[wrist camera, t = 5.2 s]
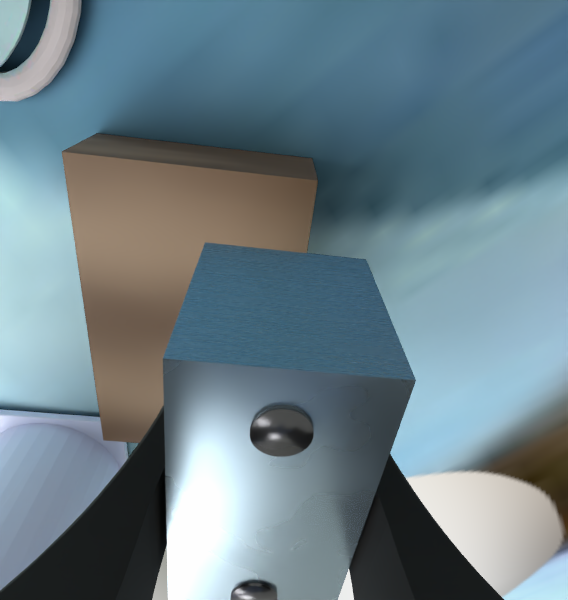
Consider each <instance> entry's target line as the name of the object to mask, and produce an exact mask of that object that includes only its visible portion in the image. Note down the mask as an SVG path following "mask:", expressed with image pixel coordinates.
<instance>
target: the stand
mask: <svg viewBox="0 0 568 600" xmlns="http://www.w3.org/2000/svg"><path fill="white" fill-rule="evenodd" d="M62 157H63V164H64V171H65V178H66V184H67V191H68V198H69V205H70V212H71V219H72V226H73V233H74V240H75V247H76V254H77V261H78V268H79V275H80V282H81V289H82V296H83V302H84V309H85V316H86V323H87V330H88V337H89V344H90V351H91V358H92V365H93V372H94V379H95V386H96V393H97V400H98V407H99V413H100V420H101V427H102V434H103V440H104V441H118V442H132V443H140V441H141V440H142V438H143V437H144V435H145V434H146V433H147V431H148V430H149V428H150V427H151V425H152V423H153V422H154V420H155V419H156V417H157V415H158V414H159V412H160V410H161V408H162V406H164V391H163V356H164V354H165V351H166V348H167V345H168V343H169V340H170V337H171V334H172V332H173V329H174V326H175V323H176V321H177V318H178V315H179V312H180V310H181V307H182V304H183V301H184V299H185V296H186V293H187V290H188V288H189V285H190V282H191V279H192V277H193V274H194V271H195V268H196V266H197V263H198V260H199V257H200V255H201V252H202V249H203V247H204V244H205V242H207V243H216V244H226V245H235V246H244V247H254V248H263V249H272V250H282V251H291V252H300V253H307V248H308V242H309V236H310V229H311V223H312V216H313V210H314V203H315V197H316V190H317V184H318V179H317V175H316V171H315V167H314V163H313V160H312V158H305V157H297V156H288V155H279V154H271V153H262V152H254V151H245V150H236V149H228V148H219V147H211V146H202V145H193V144H185V143H176V142H167V141H159V140H150V139H142V138H133V137H124V136H116V135H107V134H99V133H96V134H95V135H93V136H91V137H89V138H87V139H85V140H83V141H81V142H79V143H77V144H76V145H74V146H72V147H70V148H68V149H66V150H64V151H62Z"/></svg>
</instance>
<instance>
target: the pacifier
mask: <svg viewBox="0 0 568 600" xmlns="http://www.w3.org/2000/svg"><path fill="white" fill-rule="evenodd" d="M31 1H32V0H0V67H1V66H2V65H3V64H4V63H5V62H6V61H7V59H8V58H9V56H10V55H11V54H12V52H13V51H14V49H15V47H16V46H17V44H18V42H19V41H20V38H21V36H22V34H23V31H24V29H25V26H26V22H27V19H28V15H29V11H30V6H31ZM80 15H81V0H50V7H49V12H48V17H47V22H46V26H45V29H44V31H43V34H42V36H41V39H40V41H39V43H38V45H37V46H36V48H35V49H34V51H33V52H32V54H31V55H30V57H29V58H28V59H27V60H26V61H24V62H23V63H22V64H21V65H20V66H19V67H18V68H16V69H13V70H11V71H9V72H0V101H20V100H22V99H25V98H28V97H31V96H33V95H35V94H37V93H38V92H39V91H41V90H42V89H43V88H44V87H46V86H47V85H48V84H49V83H51V81H52V80H53V79H54V77H55V76H56V75H57V73H58V72H59V71H60V69H61V68H62V67H63V65H64V64H65V61H66V59H67V57H68V54H69V52H70V50H71V48H72V45H73V43H74V41H75V37H76V32H77V28H78V23H79V19H80Z"/></svg>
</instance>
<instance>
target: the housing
mask: <svg viewBox="0 0 568 600" xmlns="http://www.w3.org/2000/svg"><path fill="white" fill-rule="evenodd" d="M415 381H416V380H415V377H414V375H413V372H412V370H411V368H410V365H409V363H408V360H407V358H406V355H405V353H404V351H403V348H402V346H401V343H400V341H399V338H398V336H397V334H396V331H395V329H394V326H393V324H392V322H391V319H390V317H389V314H388V312H387V309H386V307H385V305H384V302H383V300H382V297H381V295H380V292H379V290H378V288H377V285H376V283H375V280H374V278H373V275H372V273H371V271H370V268H369V266H368V263H367V261H366V259H356V258H347V257H338V256H328V255H319V254H310V253H300V252H291V251H282V250H272V249H263V248H254V247H244V246H235V245H226V244H216V243H207V242H205V244H204V247H203V249H202V252H201V255H200V257H199V260H198V263H197V266H196V268H195V271H194V274H193V277H192V279H191V282H190V285H189V288H188V290H187V293H186V296H185V299H184V301H183V304H182V307H181V310H180V312H179V315H178V318H177V321H176V323H175V326H174V329H173V332H172V334H171V337H170V340H169V343H168V345H167V348H166V351H165V354H164V356H163V391H164V435H165V479H166V524H167V567H168V600H338V597H339V594H340V591H341V588H342V585H343V583H344V580H345V577H346V574H347V572H348V569H349V566H350V563H351V560H352V558H353V555H354V552H355V549H356V546H357V544H358V541H359V538H360V535H361V532H362V530H363V527H364V524H365V521H366V518H367V516H368V513H369V510H370V507H371V504H372V502H373V499H374V496H375V493H376V490H377V488H378V485H379V482H380V479H381V476H382V474H383V471H384V468H385V465H386V462H387V460H388V457H389V454H390V451H391V448H392V446H393V443H394V440H395V437H396V434H397V432H398V429H399V426H400V423H401V420H402V418H403V415H404V412H405V409H406V406H407V404H408V401H409V398H410V395H411V392H412V390H413V387H414V384H415Z"/></svg>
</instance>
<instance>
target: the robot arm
mask: <svg viewBox="0 0 568 600" xmlns="http://www.w3.org/2000/svg"><path fill="white" fill-rule="evenodd" d="M166 545H167V524H166V479H165V435H164V406H162V408H161V410H160V412H159V414H158V415H157V417H156V419H155V420H154V422H153V423H152V425H151V427H150V428H149V430H148V431H147V433H146V434H145V435H144V437H143V438H142V440H141V441H140V443H139V444H138V446H137V447H136V448H135V450H134V451H133V452H132V454H131V455H130V456H129V458H128V451H127V442H118V441H104V440H103V434H102V427H101V420H100V417H93V416H80V415H67V414H53V413H40V412H26V411H13V410H0V600H152V598H153V593H154V589H155V585H156V581H157V576H158V573H159V569H160V566H161V562H162V559H163V555H164V552H165V548H166ZM349 570H350V575H351V581H352V587H353V594H354V600H504V599H503V598H502V597H501V596H500V595H499V594H498V593H497V592H496V591H495V590H494V589H493V588H492V587H491V586H490V585H489V584H488V583H487V581H486V580H485V579H484V578H483V577H482V576H481V575H480V574H479V573H478V572H477V571H476V570H475V569H474V567H473V566H472V565H471V564H470V563H469V562H468V561H467V559H466V558H465V557H464V556H463V555H462V554H461V552H460V551H459V550H458V549H457V548H456V547H455V545H454V544H453V543H452V542H451V540H450V539H449V538H448V537H447V535H446V534H445V533H444V532H443V530H442V529H441V528H440V526H439V525H438V524H437V523H436V521H435V520H434V519H433V517H432V516H431V514H430V513H429V512H428V510H427V509H426V508H425V506H424V505H423V504H422V502H421V501H420V499H419V498H418V496H417V495H416V493H415V492H414V491H413V489H412V487H411V486H410V485H409V483H408V481H407V480H406V478H405V477H404V475H403V474H402V472H401V471H400V469H399V467H398V466H397V464H396V463H395V461H394V459H393V458H392V456H391V454H389V457H388V460H387V462H386V465H385V468H384V471H383V474H382V476H381V479H380V482H379V485H378V488H377V490H376V493H375V496H374V499H373V502H372V504H371V507H370V510H369V513H368V516H367V518H366V521H365V524H364V527H363V530H362V532H361V535H360V538H359V541H358V544H357V546H356V549H355V552H354V555H353V558H352V560H351V563H350V566H349Z"/></svg>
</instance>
